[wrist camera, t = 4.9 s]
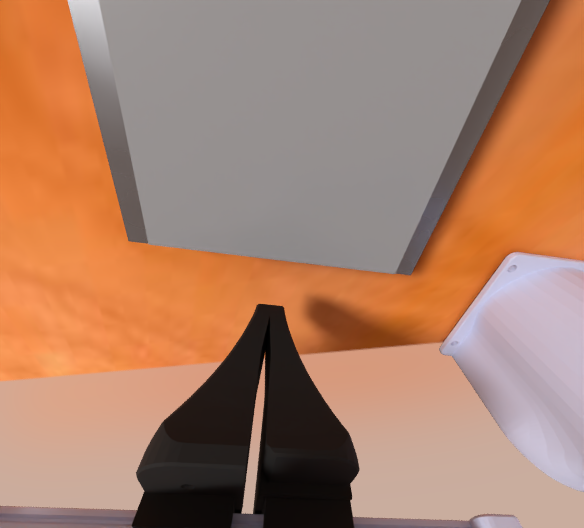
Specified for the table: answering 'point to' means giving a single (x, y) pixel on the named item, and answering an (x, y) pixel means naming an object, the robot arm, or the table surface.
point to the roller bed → (499, 74)
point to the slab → (296, 118)
